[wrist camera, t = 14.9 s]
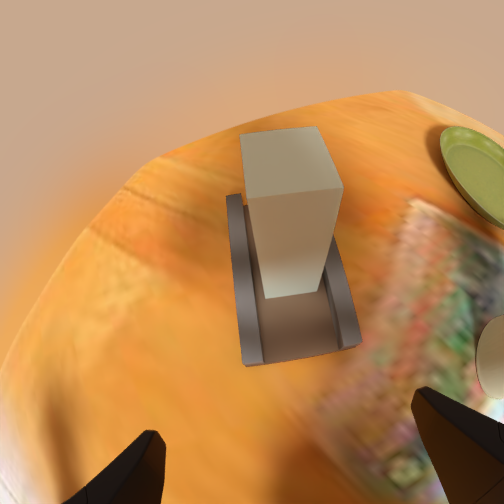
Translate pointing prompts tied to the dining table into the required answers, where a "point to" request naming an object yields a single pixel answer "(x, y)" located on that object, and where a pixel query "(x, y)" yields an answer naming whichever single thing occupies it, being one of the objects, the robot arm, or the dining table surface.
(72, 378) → the dining table surface
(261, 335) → the floor track
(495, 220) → the saucer
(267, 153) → the white rectangular block
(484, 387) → the can
